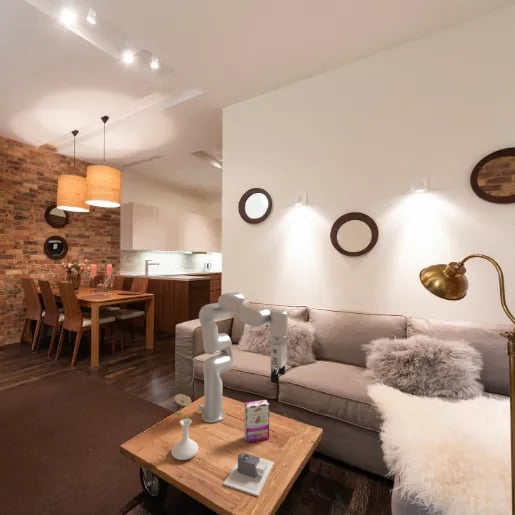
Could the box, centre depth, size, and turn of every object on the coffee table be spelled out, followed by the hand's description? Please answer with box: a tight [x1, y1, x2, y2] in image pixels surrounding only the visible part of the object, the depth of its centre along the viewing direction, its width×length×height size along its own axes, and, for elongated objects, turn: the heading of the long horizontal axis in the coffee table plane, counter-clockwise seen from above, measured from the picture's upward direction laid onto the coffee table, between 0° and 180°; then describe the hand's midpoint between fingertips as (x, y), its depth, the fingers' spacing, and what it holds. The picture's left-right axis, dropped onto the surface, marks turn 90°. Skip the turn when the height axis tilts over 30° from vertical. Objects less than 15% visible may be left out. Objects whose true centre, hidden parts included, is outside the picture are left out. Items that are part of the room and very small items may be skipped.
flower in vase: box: [171, 393, 200, 461], centre depth 124 cm, size 13×11×25 cm
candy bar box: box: [243, 399, 270, 443], centre depth 136 cm, size 11×5×16 cm, turn 105°
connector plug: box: [237, 452, 266, 478], centre depth 113 cm, size 11×4×5 cm, turn 69°
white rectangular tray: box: [222, 457, 275, 497], centre depth 113 cm, size 14×18×1 cm
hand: (278, 378), depth 126 cm, fingers open, 9 cm apart
